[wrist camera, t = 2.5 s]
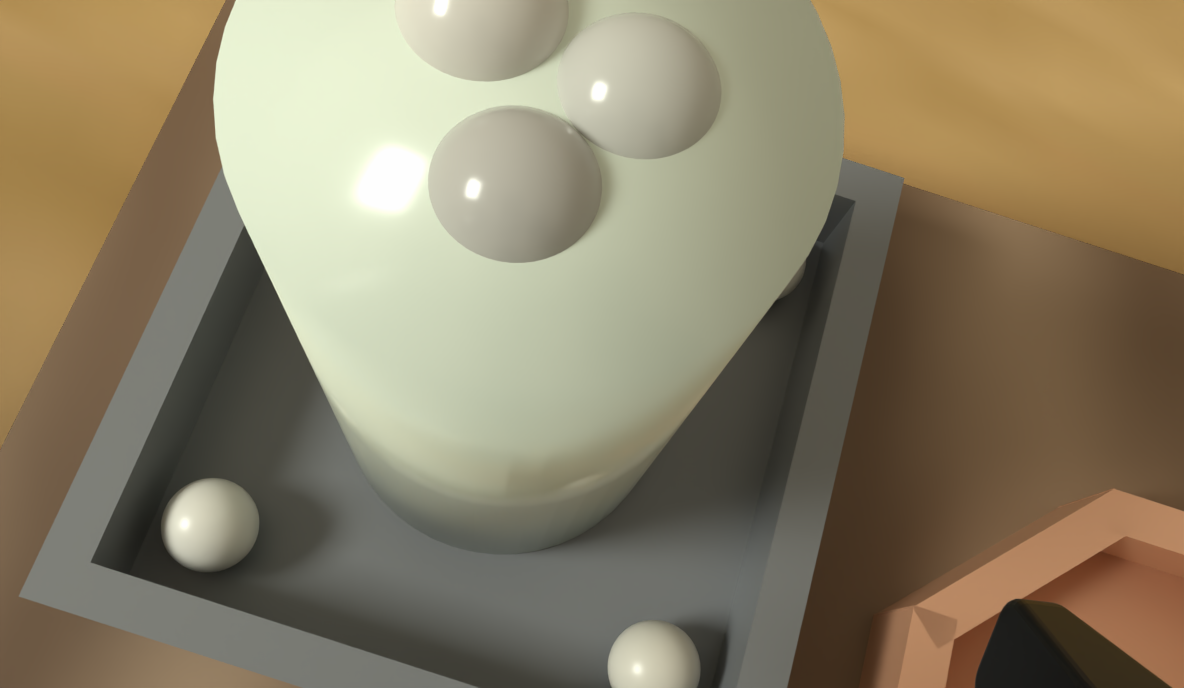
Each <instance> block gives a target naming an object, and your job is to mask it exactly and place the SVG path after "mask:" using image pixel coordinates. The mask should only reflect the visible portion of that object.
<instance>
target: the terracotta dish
mask: <svg viewBox="0 0 1184 688" xmlns="http://www.w3.org/2000/svg"><path fill="white" fill-rule="evenodd" d="M1014 599H1027V600H1036V601H1044V602H1052V603H1057V604H1059V605H1062V606H1063V607H1065V608H1066V609H1068V610H1069V611H1071V612H1072V613H1073V614H1075V615H1076V616H1077V617H1079V618H1080V619H1081V620H1083V621H1084V622H1085V623H1087V624H1088V625H1089V626H1091V627H1092V628H1093V629H1095V630H1096V631H1097V632H1099V633H1100V634H1101V635H1103V636H1104V637H1105V638H1107V639H1108V640H1109V641H1111V642H1112V643H1113V644H1115V645H1116V646H1117V647H1119V648H1120V649H1121V650H1123V651H1124V652H1125V653H1127V654H1128V655H1129V656H1131V657H1132V658H1133V659H1135V660H1136V661H1137V662H1139V663H1140V664H1141V665H1143V666H1144V667H1145V668H1147V669H1148V670H1149V671H1151V672H1152V673H1153V674H1155V675H1156V676H1157V677H1159V678H1160V679H1161V680H1163V681H1164V682H1165V683H1167V684H1168V685H1169V686H1171V687H1172V688H1184V511H1181V510H1178V509H1175V508H1172V507H1169V506H1166V505H1163V504H1160V503H1157V502H1154V501H1150V500H1147V499H1144V498H1141V497H1138V496H1135V495H1132V494H1129V493H1126V492H1123V491H1120V490H1116V489H1115V488H1114V489H1110V490H1107V491H1104V492H1101V493H1098V494H1095V495H1092V496H1089V497H1086V498H1083V499H1080V500H1077V501H1074V502H1071V503H1068V504H1065V505H1062V506H1059V507H1058V508H1056V509H1055V510H1053V511H1051V512H1050V513H1048V514H1046V515H1044V516H1043V517H1041V518H1039V519H1038V520H1036V521H1034V522H1032V523H1031V524H1029V525H1027V526H1026V527H1024V528H1022V529H1020V530H1019V531H1017V532H1015V533H1014V534H1012V535H1010V536H1008V537H1007V538H1005V539H1003V540H1002V541H1000V542H998V543H996V544H995V545H993V546H991V547H990V548H988V549H986V550H984V551H983V552H981V553H979V554H978V555H976V556H974V557H972V558H971V559H969V560H967V561H966V562H964V563H962V564H960V565H959V566H957V567H955V568H954V569H952V570H950V571H948V572H947V573H945V574H943V575H942V576H940V577H938V578H937V579H935V580H933V581H931V582H930V583H928V584H926V585H925V586H923V587H921V588H919V589H918V590H916V591H914V592H913V593H911V594H909V595H907V596H906V597H904V598H902V599H901V600H899V601H897V602H895V603H894V604H892V605H890V606H889V607H887V608H885V609H883V610H882V611H880V612H878V613H877V614H874V615H873V620H872V625H871V630H870V635H869V640H868V644H867V649H866V654H865V659H864V664H863V668H862V673H861V678H860V683H859V688H975V678H976V673H977V670H978V667H979V664H980V662H981V659H982V657H983V654H984V652H985V649H986V647H987V644H988V642H989V639H990V637H991V634H992V632H993V629H994V627H995V624H996V622H997V619H998V617H999V614H1000V612H1001V611H1002V609H1003V607H1004V606H1005V605H1006V604H1007V602H1009V601H1011V600H1014Z"/></svg>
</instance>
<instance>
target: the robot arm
mask: <svg viewBox="0 0 1184 688" xmlns="http://www.w3.org/2000/svg"><path fill="white" fill-rule="evenodd" d="M975 688H1172V687H1171V686H1169V685H1168V684H1167V683H1165V682H1164V681H1163V680H1161V679H1160V678H1159V677H1157V676H1156V675H1155V674H1153V673H1152V672H1151V671H1149V670H1148V669H1147V668H1145V667H1144V666H1143V665H1141V664H1140V663H1139V662H1137V661H1136V660H1135V659H1133V658H1132V657H1131V656H1129V655H1128V654H1127V653H1125V652H1124V651H1123V650H1121V649H1120V648H1119V647H1117V646H1116V645H1115V644H1113V643H1112V642H1111V641H1109V640H1108V639H1107V638H1105V637H1104V636H1103V635H1101V634H1100V633H1099V632H1097V631H1096V630H1095V629H1093V628H1092V627H1091V626H1089V625H1088V624H1087V623H1085V622H1084V621H1083V620H1081V619H1080V618H1079V617H1077V616H1076V615H1075V614H1073V613H1072V612H1071V611H1069V610H1068V609H1066V608H1065V607H1063V606H1062V605H1059V604H1057V603H1052V602H1044V601H1036V600H1027V599H1014V600H1011V601H1009V602H1007V604H1006V605H1005V606H1004V607H1003V609H1002V611H1001V612H1000V614H999V617H998V619H997V622H996V624H995V627H994V629H993V632H992V634H991V637H990V639H989V642H988V644H987V647H986V649H985V652H984V654H983V657H982V659H981V662H980V664H979V667H978V670H977V673H976V678H975Z"/></svg>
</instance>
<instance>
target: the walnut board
mask: <svg viewBox="0 0 1184 688" xmlns="http://www.w3.org/2000/svg"><path fill="white" fill-rule="evenodd" d="M235 1H236V0H226V1H225V3H224V5H223V7H222V9H221V11H220V13H219V15H218V17H217V19H216V21H215V23H214V25H213V27H212V29H211V31H210V33H209V35H208V37H207V39H206V41H205V43H204V45H203V47H202V49H201V51H200V53H199V55H198V57H197V59H196V61H195V63H194V65H193V67H192V69H191V71H190V73H189V75H188V77H187V79H186V81H185V83H184V85H183V87H182V89H181V91H180V93H179V95H178V97H177V99H176V101H175V103H174V105H173V107H172V109H171V111H170V113H169V115H168V117H167V119H166V121H165V123H164V125H163V127H162V129H161V131H160V133H159V134H158V136H157V138H156V140H155V142H154V144H153V146H152V148H151V150H150V152H149V154H148V156H147V158H146V160H145V162H144V164H143V166H142V168H141V170H140V172H139V174H138V176H137V178H136V180H135V182H134V184H133V186H132V188H131V190H130V192H129V194H128V196H127V198H126V200H125V202H124V204H123V206H122V208H121V210H120V212H119V214H118V216H117V218H116V220H115V222H114V224H113V226H112V228H111V230H110V232H109V234H108V236H107V238H106V240H105V242H104V244H103V246H102V248H101V250H100V252H99V254H98V256H97V258H96V260H95V262H94V264H93V266H92V268H91V270H90V272H89V274H88V276H87V278H86V280H85V282H84V284H83V286H82V288H81V290H80V292H79V294H78V296H77V298H76V300H75V302H74V304H73V306H72V308H71V310H70V312H69V314H68V316H67V318H66V320H65V322H64V324H63V326H62V328H61V330H60V332H59V334H58V336H57V338H56V340H55V342H54V344H53V346H52V348H51V350H50V352H49V354H48V356H47V358H46V360H45V362H44V364H43V366H42V368H41V370H40V372H39V374H38V376H37V378H36V380H35V382H34V384H33V386H32V388H31V390H30V392H29V394H28V396H27V397H26V399H25V401H24V403H23V405H22V407H21V409H20V411H19V413H18V415H17V417H16V419H15V421H14V423H13V425H12V427H11V429H10V431H9V433H8V435H7V437H6V439H5V441H4V443H3V445H2V447H1V449H0V688H302V687H299V686H296V685H292V684H289V683H286V682H283V681H280V680H277V679H274V678H271V677H268V676H264V675H261V674H258V673H255V672H252V671H249V670H246V669H243V668H240V667H236V666H233V665H230V664H227V663H224V662H221V661H218V660H215V659H212V658H208V657H205V656H202V655H199V654H196V653H193V652H190V651H187V650H184V649H180V648H177V647H174V646H171V645H168V644H165V643H162V642H159V641H156V640H152V639H149V638H146V637H143V636H140V635H137V634H134V633H131V632H128V631H124V630H121V629H118V628H115V627H112V626H109V625H106V624H103V623H100V622H97V621H93V620H90V619H87V618H84V617H81V616H78V615H75V614H72V613H69V612H65V611H62V610H59V609H56V608H53V607H50V606H47V605H44V604H41V603H37V602H34V601H31V600H28V599H25V598H22V597H19V594H20V592H21V590H22V588H23V586H24V584H25V582H26V579H27V577H28V575H29V573H30V571H31V569H32V567H33V565H34V563H35V560H36V558H37V556H38V554H39V552H40V550H41V548H42V546H43V544H44V541H45V539H46V537H47V535H48V533H49V531H50V529H51V527H52V525H53V522H54V520H55V518H56V516H57V514H58V512H59V510H60V508H61V506H62V503H63V501H64V499H65V497H66V495H67V493H68V491H69V489H70V487H71V484H72V482H73V480H74V478H75V476H76V474H77V472H78V470H79V468H80V465H81V463H82V461H83V459H84V457H85V455H86V453H87V451H88V449H89V446H90V444H91V442H92V440H93V438H94V436H95V434H96V432H97V430H98V427H99V425H100V423H101V421H102V419H103V417H104V415H105V413H106V410H107V408H108V406H109V404H110V402H111V400H112V398H113V396H114V394H115V391H116V389H117V387H118V385H119V383H120V381H121V379H122V377H123V375H124V372H125V370H126V368H127V366H128V364H129V362H130V360H131V358H132V356H133V353H134V351H135V349H136V347H137V345H138V343H139V341H140V339H141V337H142V334H143V332H144V330H145V328H146V326H147V324H148V322H149V320H150V318H151V315H152V313H153V311H154V309H155V307H156V305H157V303H158V301H159V299H160V296H161V294H162V292H163V290H164V288H165V286H166V284H167V282H168V280H169V277H170V275H171V273H172V271H173V269H174V267H175V265H176V263H177V261H178V258H179V256H180V254H181V252H182V250H183V248H184V246H185V244H186V242H187V239H188V237H189V235H190V233H191V231H192V229H193V227H194V225H195V223H196V220H197V218H198V216H199V214H200V212H201V210H202V208H203V206H204V204H205V201H206V199H207V197H208V195H209V193H210V191H211V189H212V187H213V185H214V182H215V180H216V178H217V176H218V174H219V172H220V170H221V168H222V163H221V158H220V154H219V149H218V145H217V141H216V133H215V118H214V103H213V97H214V85H215V73H216V62H217V58H218V54H219V50H220V46H221V42H222V37H223V33H224V29H225V26H226V23H227V21H228V18H229V16H230V13H231V11H232V9H233V6H234V4H235ZM1114 488H1115V489H1116V490H1120V491H1123V492H1126V493H1129V494H1132V495H1135V496H1138V497H1141V498H1144V499H1147V500H1150V501H1154V502H1157V503H1160V504H1163V505H1166V506H1169V507H1172V508H1175V509H1178V510H1181V511H1184V275H1183V274H1180V273H1177V272H1174V271H1171V270H1168V269H1164V268H1161V267H1158V266H1155V265H1152V264H1149V263H1146V262H1143V261H1140V260H1137V259H1134V258H1131V257H1128V256H1124V255H1121V254H1118V253H1115V252H1112V251H1109V250H1106V249H1103V248H1100V247H1097V246H1094V245H1091V244H1088V243H1084V242H1081V241H1078V240H1075V239H1072V238H1069V237H1066V236H1063V235H1060V234H1057V233H1054V232H1051V231H1047V230H1044V229H1041V228H1038V227H1035V226H1032V225H1029V224H1026V223H1023V222H1020V221H1017V220H1014V219H1011V218H1007V217H1004V216H1001V215H998V214H995V213H992V212H989V211H986V210H983V209H980V208H977V207H974V206H971V205H967V204H964V203H961V202H958V201H955V200H952V199H949V198H946V197H943V196H940V195H937V194H934V193H930V192H927V191H924V190H921V189H918V188H915V187H912V186H909V185H906V184H903V186H902V190H901V195H900V199H899V203H898V208H897V212H896V216H895V221H894V225H893V229H892V234H891V238H890V242H889V247H888V251H887V255H886V260H885V264H884V268H883V273H882V277H881V282H880V286H879V290H878V295H877V299H876V303H875V308H874V312H873V316H872V321H871V325H870V329H869V334H868V338H867V342H866V347H865V351H864V355H863V360H862V364H861V368H860V373H859V377H858V381H857V386H856V390H855V395H854V399H853V403H852V408H851V412H850V416H849V421H848V425H847V429H846V434H845V438H844V442H843V447H842V451H841V455H840V460H839V464H838V468H837V473H836V477H835V481H834V486H833V490H832V494H831V499H830V503H829V508H828V512H827V516H826V521H825V525H824V529H823V534H822V538H821V542H820V547H819V551H818V555H817V560H816V564H815V568H814V573H813V577H812V581H811V586H810V590H809V594H808V599H807V603H806V607H805V612H804V616H803V621H802V625H801V629H800V634H799V638H798V642H797V647H796V651H795V655H794V660H793V664H792V668H791V673H790V677H789V681H788V686H787V688H859V683H860V678H861V673H862V668H863V664H864V659H865V654H866V649H867V644H868V640H869V635H870V630H871V625H872V620H873V615H874V614H877V613H878V612H880V611H882V610H883V609H885V608H887V607H889V606H890V605H892V604H894V603H895V602H897V601H899V600H901V599H902V598H904V597H906V596H907V595H909V594H911V593H913V592H914V591H916V590H918V589H919V588H921V587H923V586H925V585H926V584H928V583H930V582H931V581H933V580H935V579H937V578H938V577H940V576H942V575H943V574H945V573H947V572H948V571H950V570H952V569H954V568H955V567H957V566H959V565H960V564H962V563H964V562H966V561H967V560H969V559H971V558H972V557H974V556H976V555H978V554H979V553H981V552H983V551H984V550H986V549H988V548H990V547H991V546H993V545H995V544H996V543H998V542H1000V541H1002V540H1003V539H1005V538H1007V537H1008V536H1010V535H1012V534H1014V533H1015V532H1017V531H1019V530H1020V529H1022V528H1024V527H1026V526H1027V525H1029V524H1031V523H1032V522H1034V521H1036V520H1038V519H1039V518H1041V517H1043V516H1044V515H1046V514H1048V513H1050V512H1051V511H1053V510H1055V509H1056V508H1058V507H1059V506H1062V505H1065V504H1068V503H1071V502H1074V501H1077V500H1080V499H1083V498H1086V497H1089V496H1092V495H1095V494H1098V493H1101V492H1104V491H1107V490H1110V489H1114Z"/></svg>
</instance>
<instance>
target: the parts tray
mask: <svg viewBox="0 0 1184 688" xmlns="http://www.w3.org/2000/svg"><path fill="white" fill-rule="evenodd" d="M903 182H904V178H902V177H899V176H896V175H893V174H890V173H887V172H884V171H881V170H878V169H875V168H872V167H869V166H865V165H862V164H859V163H856V162H853V161H850V160H847V159H844V158H842V163H841V169H840V174H839V180H838V186H837V189H836V192H835V195H834V198H833V201H832V204H831V207H830V210H829V213H828V216H827V219H826V222H825V224H824V226H823V228H822V230H821V232H820V234H819V236H818V238H817V240H816V242H815V244H814V246H813V248H812V249H811V251H810V253H809V255H808V257H807V258H806V259H805V261H804V262H803V264H802V265H801V266H800V268H799V269H798V271H797V272H796V273H795V275H794V276H793V278H792V279H791V280H790V282H789V283H788V285H787V286H786V287H785V289H784V290H783V291H782V293H781V294H780V295H779V297H778V298H777V299H776V300H775V302H774V303H773V304H772V306H771V307H770V308H769V310H768V311H767V312H766V314H765V315H764V316H763V318H762V319H761V320H760V322H759V323H758V324H757V326H756V327H755V328H754V329H753V331H752V332H751V333H750V335H749V336H748V337H747V339H746V340H745V341H744V343H743V344H742V345H741V347H740V348H739V349H738V351H737V352H736V353H735V354H734V356H733V357H732V358H731V360H730V361H729V362H728V364H727V365H726V366H725V368H724V369H723V370H722V372H721V373H720V374H719V376H718V377H717V378H716V380H715V381H714V382H713V383H712V385H711V386H710V387H709V389H708V390H707V391H706V393H705V394H704V395H703V397H702V398H701V399H700V401H699V402H698V403H697V405H696V406H695V407H694V408H693V410H692V411H691V412H690V414H689V415H688V416H687V418H686V419H685V420H684V422H683V423H682V424H681V426H680V427H679V428H678V430H677V431H676V432H675V434H674V435H673V436H672V437H671V439H670V440H669V441H668V443H667V444H666V445H665V447H664V448H663V449H662V451H661V452H660V453H659V455H658V456H657V457H656V459H655V460H654V461H653V462H652V464H651V465H650V466H649V468H648V469H647V470H646V472H645V473H644V474H643V476H642V477H641V478H640V480H639V481H638V482H637V484H636V485H635V486H634V488H633V489H632V490H631V491H630V493H629V494H628V495H627V497H626V498H625V499H624V500H623V501H622V502H621V503H620V504H619V505H618V506H617V507H616V509H615V510H614V511H613V512H612V513H610V514H609V515H608V516H607V517H606V518H604V519H603V520H602V521H601V522H599V523H598V524H597V525H596V526H594V527H592V528H591V529H589V530H587V531H586V532H584V533H582V534H581V535H579V536H577V537H575V538H573V539H571V540H568V541H566V542H564V543H562V544H559V545H556V546H553V547H549V548H546V549H542V550H539V551H533V552H527V553H520V554H487V553H478V552H472V551H468V550H464V549H460V548H456V547H452V546H449V545H447V544H444V543H442V542H439V541H437V540H434V539H432V538H430V537H429V536H427V535H425V534H423V533H421V532H420V531H418V530H416V529H414V528H413V527H412V526H410V525H409V524H408V523H406V522H405V521H404V520H402V519H401V518H400V517H398V516H397V515H396V514H395V513H394V512H393V511H392V510H391V509H390V508H389V507H388V506H387V505H386V504H385V503H384V502H383V501H382V500H381V499H380V497H379V496H378V495H377V493H376V492H375V491H374V490H373V488H372V487H371V486H370V484H369V483H368V481H367V479H366V477H365V476H364V474H363V472H362V470H361V469H360V467H359V465H358V463H357V461H356V459H355V456H354V454H353V452H352V450H351V448H350V446H349V444H348V442H347V440H346V437H345V435H344V433H343V431H342V429H341V427H340V425H339V423H338V421H337V418H336V416H335V414H334V412H333V410H332V408H331V406H330V404H329V402H328V400H327V397H326V395H325V393H324V391H323V389H322V387H321V385H320V383H319V381H318V378H317V376H316V374H315V372H314V370H313V368H312V366H311V364H310V362H309V359H308V357H307V355H306V353H305V351H304V349H303V347H302V345H301V343H300V340H299V338H298V336H297V334H296V332H295V330H294V328H293V326H292V324H291V322H290V319H289V317H288V315H287V313H286V311H285V309H284V307H283V305H282V303H281V300H280V298H279V296H278V294H277V292H276V290H275V288H274V286H273V284H272V281H271V279H270V277H269V275H268V273H267V271H266V269H265V267H264V265H263V263H262V260H261V258H260V256H259V254H258V252H257V250H256V248H255V246H254V244H253V241H252V239H251V237H250V235H249V233H248V231H247V229H246V227H245V225H244V222H243V220H242V218H241V216H240V214H239V212H238V209H237V207H236V204H235V202H234V199H233V196H232V194H231V191H230V189H229V186H228V184H227V181H226V178H225V176H224V172H223V167H222V168H221V170H220V172H219V174H218V176H217V178H216V180H215V182H214V185H213V187H212V189H211V191H210V193H209V195H208V197H207V199H206V201H205V204H204V206H203V208H202V210H201V212H200V214H199V216H198V218H197V220H196V223H195V225H194V227H193V229H192V231H191V233H190V235H189V237H188V239H187V242H186V244H185V246H184V248H183V250H182V252H181V254H180V256H179V258H178V261H177V263H176V265H175V267H174V269H173V271H172V273H171V275H170V277H169V280H168V282H167V284H166V286H165V288H164V290H163V292H162V294H161V296H160V299H159V301H158V303H157V305H156V307H155V309H154V311H153V313H152V315H151V318H150V320H149V322H148V324H147V326H146V328H145V330H144V332H143V334H142V337H141V339H140V341H139V343H138V345H137V347H136V349H135V351H134V353H133V356H132V358H131V360H130V362H129V364H128V366H127V368H126V370H125V372H124V375H123V377H122V379H121V381H120V383H119V385H118V387H117V389H116V391H115V394H114V396H113V398H112V400H111V402H110V404H109V406H108V408H107V410H106V413H105V415H104V417H103V419H102V421H101V423H100V425H99V427H98V430H97V432H96V434H95V436H94V438H93V440H92V442H91V444H90V446H89V449H88V451H87V453H86V455H85V457H84V459H83V461H82V463H81V465H80V468H79V470H78V472H77V474H76V476H75V478H74V480H73V482H72V484H71V487H70V489H69V491H68V493H67V495H66V497H65V499H64V501H63V503H62V506H61V508H60V510H59V512H58V514H57V516H56V518H55V520H54V522H53V525H52V527H51V529H50V531H49V533H48V535H47V537H46V539H45V541H44V544H43V546H42V548H41V550H40V552H39V554H38V556H37V558H36V560H35V563H34V565H33V567H32V569H31V571H30V573H29V575H28V577H27V579H26V582H25V584H24V586H23V588H22V590H21V592H20V594H19V597H22V598H25V599H28V600H31V601H34V602H37V603H41V604H44V605H47V606H50V607H53V608H56V609H59V610H62V611H65V612H69V613H72V614H75V615H78V616H81V617H84V618H87V619H90V620H93V621H97V622H100V623H103V624H106V625H109V626H112V627H115V628H118V629H121V630H124V631H128V632H131V633H134V634H137V635H140V636H143V637H146V638H149V639H152V640H156V641H159V642H162V643H165V644H168V645H171V646H174V647H177V648H180V649H184V650H187V651H190V652H193V653H196V654H199V655H202V656H205V657H208V658H212V659H215V660H218V661H221V662H224V663H227V664H230V665H233V666H236V667H240V668H243V669H246V670H249V671H252V672H255V673H258V674H261V675H264V676H268V677H271V678H274V679H277V680H280V681H283V682H286V683H289V684H292V685H296V686H299V687H302V688H787V686H788V681H789V677H790V673H791V668H792V664H793V660H794V655H795V651H796V647H797V642H798V638H799V634H800V629H801V625H802V621H803V616H804V612H805V607H806V603H807V599H808V594H809V590H810V586H811V581H812V577H813V573H814V568H815V564H816V560H817V555H818V551H819V547H820V542H821V538H822V534H823V529H824V525H825V521H826V516H827V512H828V508H829V503H830V499H831V494H832V490H833V486H834V481H835V477H836V473H837V468H838V464H839V460H840V455H841V451H842V447H843V442H844V438H845V434H846V429H847V425H848V421H849V416H850V412H851V408H852V403H853V399H854V395H855V390H856V386H857V381H858V377H859V373H860V368H861V364H862V360H863V355H864V351H865V347H866V342H867V338H868V334H869V329H870V325H871V321H872V316H873V312H874V308H875V303H876V299H877V295H878V290H879V286H880V282H881V277H882V273H883V268H884V264H885V260H886V255H887V251H888V247H889V242H890V238H891V234H892V229H893V225H894V221H895V216H896V212H897V208H898V203H899V199H900V195H901V190H902V186H903Z"/></svg>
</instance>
